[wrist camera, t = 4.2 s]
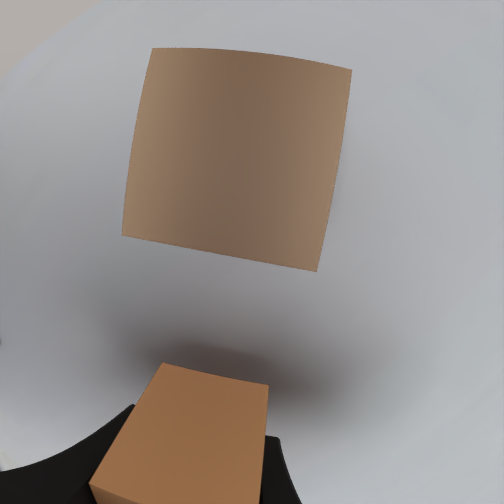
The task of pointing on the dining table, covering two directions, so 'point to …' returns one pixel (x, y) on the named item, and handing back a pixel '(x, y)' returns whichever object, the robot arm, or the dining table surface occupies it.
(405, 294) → the dining table surface
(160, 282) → the dining table surface
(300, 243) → the walnut block
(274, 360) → the dining table surface
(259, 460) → the orange block
